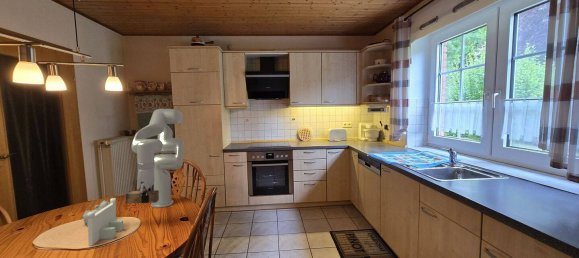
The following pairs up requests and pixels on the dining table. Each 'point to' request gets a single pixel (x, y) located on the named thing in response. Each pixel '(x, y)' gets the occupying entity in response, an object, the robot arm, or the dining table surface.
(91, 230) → the pale grey legged piece
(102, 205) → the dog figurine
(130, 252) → the dining table surface
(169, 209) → the dining table surface
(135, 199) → the rail
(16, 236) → the dining table surface
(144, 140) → the robot arm
